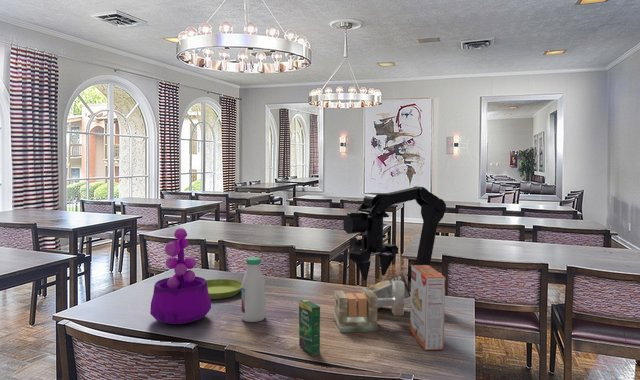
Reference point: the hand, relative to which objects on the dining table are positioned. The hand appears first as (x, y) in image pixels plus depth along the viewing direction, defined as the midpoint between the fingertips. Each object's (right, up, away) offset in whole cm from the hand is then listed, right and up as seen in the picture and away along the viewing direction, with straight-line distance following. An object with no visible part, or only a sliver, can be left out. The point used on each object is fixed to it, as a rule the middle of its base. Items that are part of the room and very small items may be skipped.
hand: (374, 277), depth 150 cm
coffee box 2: (-21, -15, -26) cm, 36 cm away
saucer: (-58, -11, +25) cm, 64 cm away
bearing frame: (-7, -14, -6) cm, 16 cm away
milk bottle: (-40, -13, -2) cm, 42 cm away
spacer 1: (-8, -7, -7) cm, 13 cm away
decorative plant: (-63, -13, -5) cm, 64 cm away
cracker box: (+13, -15, -18) cm, 27 cm away
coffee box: (-3, -10, +9) cm, 14 cm away
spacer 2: (-5, -7, -6) cm, 11 cm away
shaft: (-2, -11, -6) cm, 12 cm away
